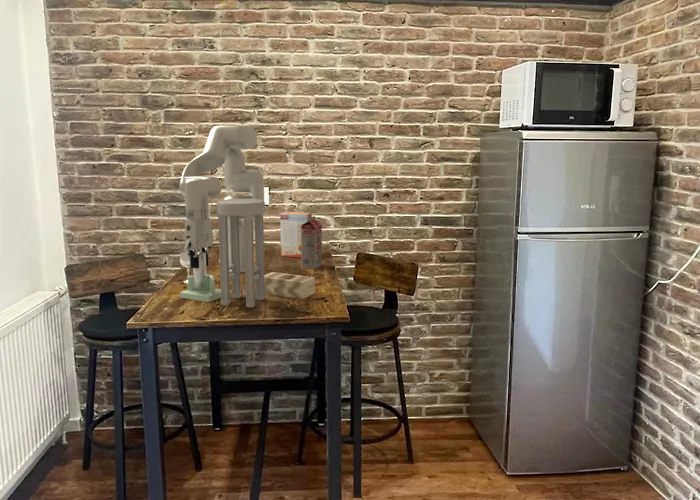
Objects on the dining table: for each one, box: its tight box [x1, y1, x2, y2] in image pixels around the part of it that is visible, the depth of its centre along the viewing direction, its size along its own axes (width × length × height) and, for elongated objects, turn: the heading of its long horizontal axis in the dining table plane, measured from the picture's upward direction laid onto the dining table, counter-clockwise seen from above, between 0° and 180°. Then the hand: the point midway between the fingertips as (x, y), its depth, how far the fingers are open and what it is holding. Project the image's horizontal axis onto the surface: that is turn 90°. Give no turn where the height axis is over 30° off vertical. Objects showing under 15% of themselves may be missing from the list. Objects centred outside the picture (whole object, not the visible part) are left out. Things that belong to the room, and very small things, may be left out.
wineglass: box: [179, 250, 194, 284], centre depth 228 cm, size 6×6×12 cm
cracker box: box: [280, 211, 313, 259], centre depth 275 cm, size 14×6×21 cm, turn 71°
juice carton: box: [301, 215, 323, 270], centre depth 254 cm, size 7×7×22 cm
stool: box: [216, 198, 266, 308], centre depth 199 cm, size 16×16×35 cm
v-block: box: [179, 274, 221, 303], centre depth 207 cm, size 10×12×7 cm
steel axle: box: [192, 251, 208, 288], centre depth 205 cm, size 4×4×12 cm
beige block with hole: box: [264, 271, 316, 300], centre depth 213 cm, size 18×9×6 cm, turn 65°
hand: (199, 265), depth 204 cm, fingers closed on steel axle, 4 cm apart
